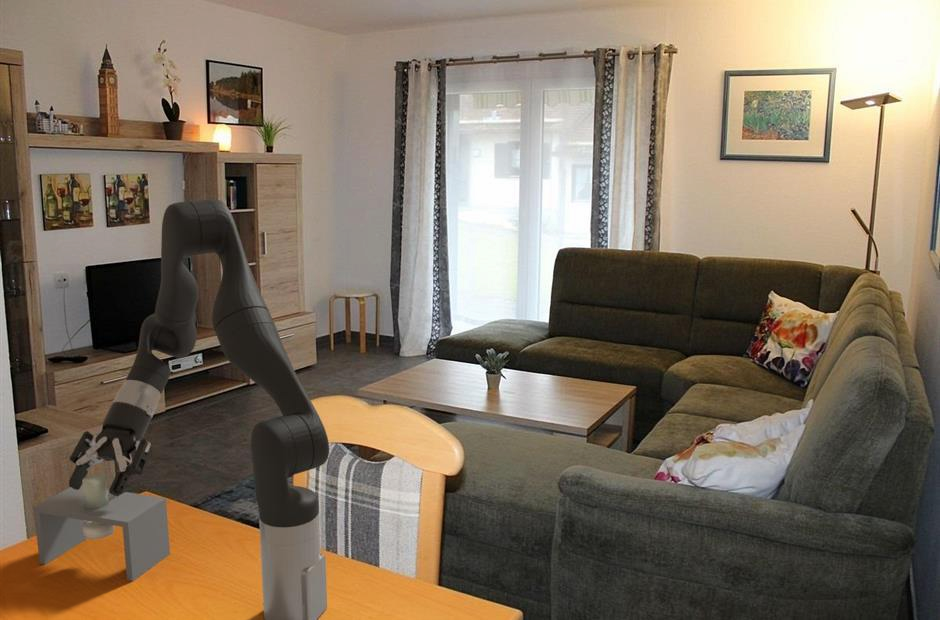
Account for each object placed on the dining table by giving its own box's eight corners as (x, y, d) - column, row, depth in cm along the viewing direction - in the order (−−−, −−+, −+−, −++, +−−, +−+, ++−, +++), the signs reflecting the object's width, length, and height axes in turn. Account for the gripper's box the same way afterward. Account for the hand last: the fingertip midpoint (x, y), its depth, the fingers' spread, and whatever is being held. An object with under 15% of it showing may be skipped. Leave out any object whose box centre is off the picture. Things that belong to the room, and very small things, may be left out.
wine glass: (120, 528, 145) (115, 474, 143) (101, 540, 140) (96, 485, 138) (97, 524, 146) (92, 471, 144) (77, 537, 141) (72, 482, 139)
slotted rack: (170, 553, 147) (165, 498, 145) (132, 581, 138) (127, 522, 135) (81, 538, 153) (76, 484, 150) (39, 563, 143) (33, 506, 141)
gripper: (89, 396, 149) (47, 478, 140) (154, 404, 145) (115, 488, 136) (112, 414, 155) (73, 494, 146) (174, 422, 151) (138, 504, 142)
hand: (93, 491), depth 141 cm, fingers open, 8 cm apart
